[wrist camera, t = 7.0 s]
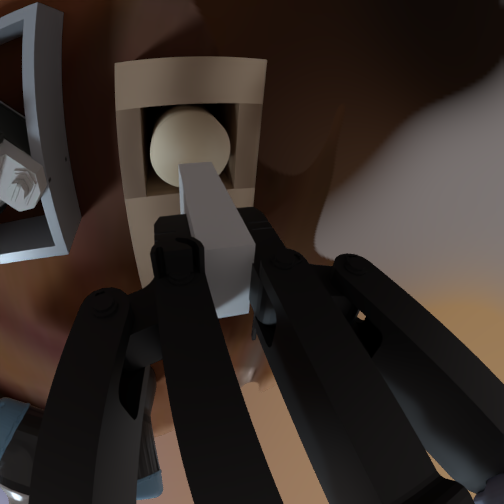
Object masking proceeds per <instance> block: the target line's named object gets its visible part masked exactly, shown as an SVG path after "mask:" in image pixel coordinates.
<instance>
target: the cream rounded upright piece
mask: <svg viewBox="0 0 504 504" xmlns="http://www.w3.org/2000/svg"><path fill="white" fill-rule="evenodd" d="M229 155H230V140H229V137H228V134H227V132H226V130H225V129H224V127H223V126H222V125H221V124H220V123H219V122H218V121H217V120H216V118H215V117H214V116H213V115H212V114H211V113H210V112H209V111H208V110H207V109H206V108H205V107H204V106H203V105H202V104H201V103H198V104H177V105H164V106H163V107H162V108H161V109H160V111H159V112H158V114H157V115H156V117H155V120H154V125H153V132H152V140H151V147H150V158H151V163H152V166H153V168H154V170H155V172H156V173H157V174H158V176H159V177H160V178H161V179H162V180H164V181H165V182H167V183H168V184H170V185H173V186H176V187H179V167H178V164H185V163H199V162H212V164H213V166H214V168H215V169H216V171H217V173H218V175H219V174H220V173H221V172H222V171H223V169H224V168H225V166H226V164H227V162H228V159H229Z"/></svg>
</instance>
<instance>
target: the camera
mask: <svg viewBox="0 0 504 504" xmlns="http://www.w3.org/2000/svg"><path fill="white" fill-rule="evenodd" d="M65 161H67V158H66V157H65ZM50 181H51V177H50V178H49V183H50ZM46 186H47V181H46V177H45V173H44V169H43V166H42V165H40V164H39V163H37V162H36V161H35V160H33V159H32V158H31V152H30V146H29V140H28V134H27V126H26V118H25V117H24V116H23V115H21V114H20V113H18V112H17V111H15V110H14V109H12V108H11V107H9V106H8V105H6V104H5V103H3V102H2V101H0V214H1V213H2V212H3V210H4V209H5V208H6V206H7V204H8V205H10V206H11V207H13V208H14V209H16V210H18V211H19V212H20V211H24V210H28V209H32V208H34V207H35V206H36V204H37V203H38V202H39V200H40V199H41V196H42V194H43V192H44V190H45V188H46Z"/></svg>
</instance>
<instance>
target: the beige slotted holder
mask: <svg viewBox="0 0 504 504" xmlns="http://www.w3.org/2000/svg"><path fill="white" fill-rule="evenodd" d="M266 66H267V60H266V59H255V58H241V57H240V58H239V57H213V56H196V57H168V58H154V59H144V60H134V61H126V62H119V63H115V106H116V124H117V138H118V149H119V159H120V168H121V176H122V184H123V191H124V198H125V205H126V211H127V217H128V223H129V229H130V234H131V239H132V244H133V249H134V254H135V259H136V264H137V268H138V272H139V277H140V281H141V285H142V289H143V288H144V287H146V286H147V285H148V284H149V283H150V282H151V281H152V280H153V278H154V274H153V269H152V263H151V258H150V251H151V248H152V246H153V245H154V224H155V222H156V221H157V219H158V218H159V217H161V216H169V215H178V214H181V212H180V193H179V187H176V186H173V185H170V184H168V183H167V182H165V181H164V180H162V179H161V178H160V177H159V176H158V174H157V173H156V172H155V170H154V168H153V166H152V163H151V158H150V154H149V136H148V107H152V106H163V105H177V104H198V103H216V120H217V121H218V122H219V123H220V124H221V125H222V126H223V127H224V129H225V130H226V132H227V134H228V137H229V140H230V155H229V159H228V162H227V164H226V166H225V168H224V169H223V171H222V172H221V173H220V174H219V177H220V179H221V181H222V182H223V184H224V186H225V188H226V190H227V192H228V194H229V195H230V197H231V199H232V201H233V203H234V205H235V207H236V208H241V207H253V203H254V192H255V182H256V171H257V160H258V149H259V139H260V129H261V118H262V108H263V97H264V86H265V76H266Z"/></svg>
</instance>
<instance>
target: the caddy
mask: <svg viewBox="0 0 504 504" xmlns="http://www.w3.org/2000/svg"><path fill="white" fill-rule="evenodd" d="M63 15H64V12H61V11H59V10H57V9H54V8H52V7H49V6H47V5H44V4H41V3H39V2H37V3H34V4H31V5H29V6H26V7H24V8H21V9H19V10H17V11H14V12H12V13H10V14H7V15H5V16H3V17H1V18H0V45H2V44H4V43H6V42H9V41H11V40H13V39H16V38H18V37H21V36H23V43H22V80H23V97H24V109H25V118H26V126H27V134H28V140H29V146H30V152H31V158H32V159H33V160H35V161H36V162H37V163H39V164H40V165H42V166H43V169H44V173H45V177H46V181H47V186H46V188H45V190H44V192H43V194H42V196H41V201H42V205H43V208H44V212H45V215H42V216H37V217H32V218H27V219H22V220H17V221H12V222H7V223H3V224H0V264H3V263H10V262H16V261H23V260H30V259H37V258H44V257H51V256H59V255H66V254H69V252H70V249H71V246H72V243H73V240H74V237H75V234H76V231H77V229H78V226H79V223H80V221H81V218H82V217H81V213H80V209H79V204H78V200H77V195H76V191H75V186H74V181H73V176H72V170H71V164H70V158H69V152H68V145H67V138H66V129H65V120H64V109H63V95H62V67H61V55H62V28H63ZM65 157H66V158H67V161H65ZM50 177H51V181H50V183H49V178H50Z"/></svg>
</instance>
